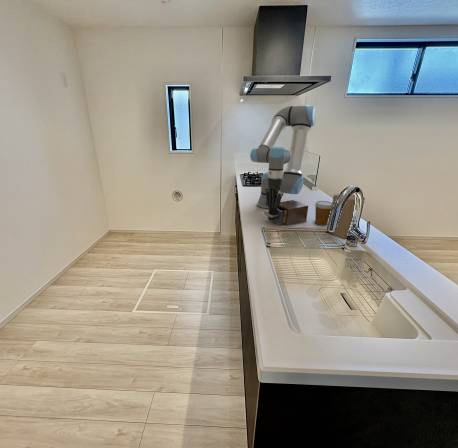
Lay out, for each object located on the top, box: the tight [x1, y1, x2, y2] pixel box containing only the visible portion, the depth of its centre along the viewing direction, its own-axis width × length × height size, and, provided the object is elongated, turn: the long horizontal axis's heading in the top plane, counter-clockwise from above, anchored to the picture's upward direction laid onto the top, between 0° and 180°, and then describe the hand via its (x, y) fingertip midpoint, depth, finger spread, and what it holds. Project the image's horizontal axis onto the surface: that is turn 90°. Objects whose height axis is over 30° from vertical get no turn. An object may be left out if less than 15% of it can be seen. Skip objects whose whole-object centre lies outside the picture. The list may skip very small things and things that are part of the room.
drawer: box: [263, 207, 287, 226], centre depth 136 cm, size 18×11×8 cm, turn 116°
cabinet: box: [279, 199, 309, 226], centre depth 139 cm, size 15×13×10 cm
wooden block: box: [326, 193, 366, 239], centre depth 119 cm, size 10×10×20 cm
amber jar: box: [314, 200, 332, 226], centre depth 134 cm, size 10×10×12 cm
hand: (271, 219), depth 135 cm, fingers closed
